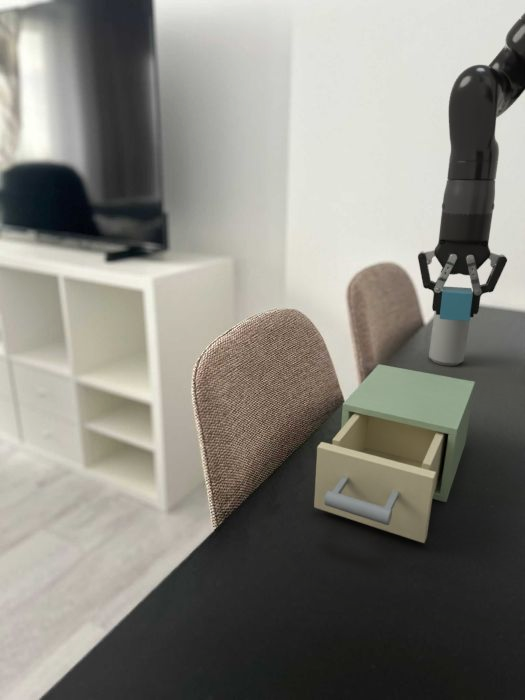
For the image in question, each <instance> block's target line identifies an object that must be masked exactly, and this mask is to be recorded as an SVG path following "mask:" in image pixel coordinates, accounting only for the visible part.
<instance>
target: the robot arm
mask: <svg viewBox="0 0 525 700" xmlns="http://www.w3.org/2000/svg"><path fill="white" fill-rule="evenodd" d="M504 43H505V44H504V45H503V47H502V48H501V50H500V51H499V52H498V54H497V55H496V56H495V57H494V58H493V59H492V61H491V62H490V63H489V64H488V65H487V64H475V65H472V66H469V67H467V68H466V69H464V70H463V71H462V72H461V73H460V74H459V75H458V76H457V77H456V79H455V81H454V82H453V84H452V87H451V91H450V94H449V100H448V130H449V131H448V133H449V135H448V136H449V142H450V153H449V159H448V169H447V176H446V179H447V180H446V184H445V188H444V192H443V197H442V203H441V214H440V215H441V216H440V224H439V233H438V243H437V245H435V248H434V249H432V250H428V251H423V250H422V251H420V252H418V255H417V260H418V265H419V270H420V275H421V282H422V286H423V289H428V290H429V291H432V293H433V297H432V305H431V308H432V311H433V312H435V311H436V315H440V310H441V301H442V288H443V286H445V285H446V282H447V281H448V278H449V276H450V275H463V276H469V279H470V283H471V289H472V293H473V297H472V304H471V312H470V318H474V316H475V315H478V313H479V311H480V305H481V304H480V303H481V297H482V295H484V294H487V293H492V292H494V290H495V289H496V286H497V284H498V282H499V280H500V278H501V275H502V273H503V271H504V269H505V267H506V264H507V263H508V258H507V257H506V256H505V254H497V253H494V252H491V249H490V247H489V241H490V233H491V228H492V220H493V213H494V209H495V198H496V179H497V172H498V164H499V157H500V156H499V155H500V145H499V143H498V141H497V139H496V127H497V126H496V125H497V118H498V117H500V116H502V115H503V114H504V113H505V112H507V110H509V109H510V108H511V107H512V105H514V104H515V103H516V101H517V100H518V99H519V98H520V97H521V95H522V94H523V93H524V92H525V12H523V14H522V15H521V16H520V18H518V19H517V20H516V22H515V23H514V24H513V25H512V26H511V28H510V29H509V31H507V33H506V36H505V39H504ZM434 257H435V258H436V260H437V261H438V263H439V265H440V266H441V269H440V272H439V275H438V277H437V279H436V281H433V280H432V279H431V274H430V268H429V266H430V265H431V264H432V262H433V258H434ZM488 260H490V261H489V266H490V267H491V268H492V269H491V271H490V273H489V275H488V276H487V279H486V282H485V283H481V282H480V277H479V273H478V270H479V269H480V268H481V267H482V266H483V265H484V264H485V263H486V261H488Z"/></svg>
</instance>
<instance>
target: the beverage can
mask: <svg viewBox="0 0 525 700" xmlns="http://www.w3.org/2000/svg"><path fill="white" fill-rule="evenodd" d="M470 323H471V318H470V319H469V321H460V320H447V319H440V315H436V311H434V312H433V321H432V329H431V335H430V344H429V351H428V357H429V359H431V361H432V362H433V363H436V364H437V365H442V366H449V367H450V366H451V367H452V366H459V365H460V363H463V362H464V360H465V356H466V349H467V342H468V335H469V330H470Z"/></svg>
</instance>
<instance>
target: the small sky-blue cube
mask: <svg viewBox="0 0 525 700" xmlns="http://www.w3.org/2000/svg"><path fill="white" fill-rule="evenodd" d="M472 292H473V289H472V287H463V286H462V287H459V286H445V285H444V286H443V288H442V301H441V310H440V319H447V320H460V321H469V319H470V320H471V317H470V312H471V304H472V297H473V293H472Z"/></svg>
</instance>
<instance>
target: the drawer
mask: <svg viewBox="0 0 525 700" xmlns="http://www.w3.org/2000/svg"><path fill="white" fill-rule="evenodd" d="M447 437H448V434H446V433H442V432H438V431H433V430H429V429H425V428H420V427H416V426H412V425H407V424H403V423H399V422H394V421H390V420H386V419H381V418H377V417H372V416H368V415H364V414H359V413H354V414H353V416H352V417H351V418H350V419H349V420H348V422H347V423H346V424H345V425H344V426H343V428H342V429H341V428H340V429H339V431H338V432H337V434H335V436H334V437H333V438H332V442H331V443H332V444H331V443H328V442H325V441H321V442H320V443H319V444H318V445H317V447H316V464H315V465H316V466H315V484H314V501H313V502H314V505H313V508H315V509H317V510H320V511H324V512H327V513H330V514H333V515H335V516H339V517H342V518H345V519H349V520H350V521H351V520H352V521H355V522H357V523H360V524H364V525H367V526H370V527H373V528H376V529H379V530H382V531H385V532H388V533H391V534H394V535H398V536H400V537H403V538H406V539H410V540H413V541H416V542H418V543H421V544H425V543H426V540H427V538H428V530H429V525H430V518H431V511H432V510H431V509H432V503H433V499H432V497H433V495H434V492H435V489H436V487H437V484H438V481H439V479H440V476H441V473H442V470H443V464H444V457H445V451H446V444H447Z"/></svg>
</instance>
